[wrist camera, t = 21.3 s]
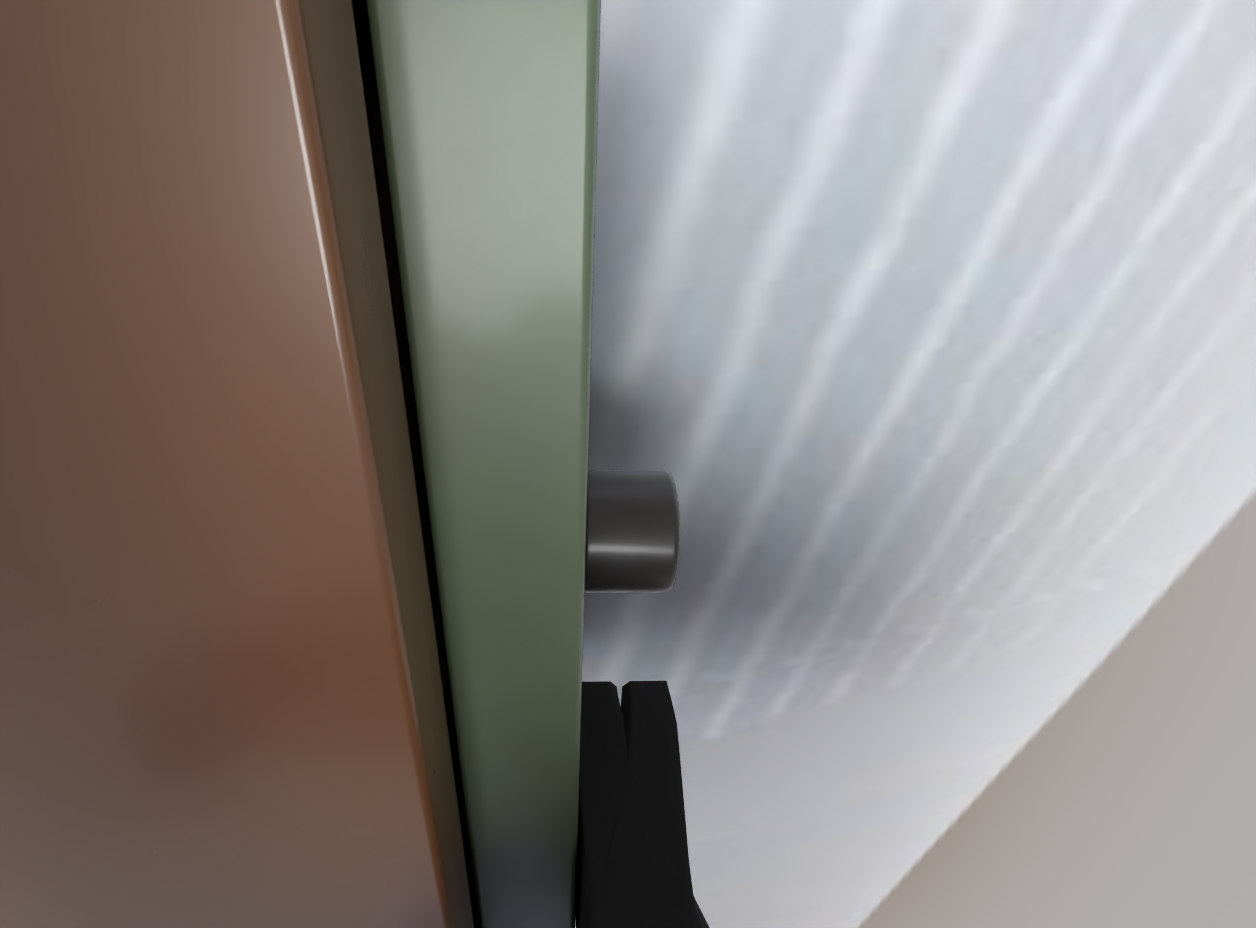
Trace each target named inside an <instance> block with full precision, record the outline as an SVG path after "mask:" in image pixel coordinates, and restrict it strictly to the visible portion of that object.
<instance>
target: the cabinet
mask: <svg viewBox="0 0 1256 928" xmlns="http://www.w3.org/2000/svg"><path fill="white" fill-rule="evenodd" d="M362 78H365V79H369V80H372V81H374V82H376V76H375V68H374V60H373V52H372V44H371V35H370V27H369V19H368V11H367V3H366V0H0V928H480V923H479V915H478V907H477V899H476V891H475V883H474V874H473V866H472V858H471V850H470V842H469V834H468V826H467V817H466V809H465V801H464V793H463V785H462V777H461V769H460V760H459V752H458V744H457V736H456V728H455V720H454V712H453V703H452V695H451V687H450V679H449V673H448V677H447V681H446V685H445V690H444V693H443V689H442V681H441V674H440V666H439V659H438V651H437V644H436V636H435V628H434V621H433V613H432V606H431V598H430V591H429V583H428V575H427V568H426V560H425V553H424V545H423V538H422V530H421V523H420V515H419V507H418V500H417V492H416V485H415V477H414V470H413V462H412V454H411V447H410V439H409V432H408V424H407V417H406V409H405V401H404V394H403V386H402V379H401V371H400V364H399V356H398V349H397V341H396V333H395V326H394V318H393V311H392V303H391V296H390V288H389V280H388V273H387V265H386V258H385V250H384V243H383V235H382V228H381V220H380V212H379V205H378V197H377V190H376V182H375V175H374V167H373V159H372V152H371V144H370V137H369V129H368V122H367V114H366V106H365V99H364V91H363V84H362Z"/></svg>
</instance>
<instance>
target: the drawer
mask: <svg viewBox="0 0 1256 928" xmlns="http://www.w3.org/2000/svg"><path fill="white" fill-rule="evenodd" d="M366 3H367V11H368V19H369V27H370V35H371V44H372V52H373V60H374V68H375V76H376V82H374V81H372V80H369V79H365V78H362V84H363V91H364V99H365V106H366V114H367V122H368V129H369V137H370V144H371V152H372V159H373V167H374V175H375V182H376V190H377V197H378V205H379V212H380V220H381V228H382V235H383V243H384V250H385V258H386V265H387V273H388V280H389V288H390V296H391V303H392V311H393V318H394V326H395V333H396V341H397V349H398V356H399V364H400V371H401V379H402V386H403V394H404V401H405V409H406V417H407V424H408V432H409V439H410V447H411V454H412V462H413V470H414V477H415V485H416V492H417V500H418V507H419V515H420V523H421V530H422V538H423V545H424V553H425V560H426V568H427V575H428V583H429V591H430V598H431V606H432V613H433V621H434V628H435V636H436V644H437V651H438V659H439V666H440V674H441V681H442V689H443V693H444V690H445V685H446V681H447V677H448V673H449V679H450V687H451V695H452V703H453V712H454V720H455V728H456V736H457V744H458V752H459V760H460V769H461V777H462V785H463V793H464V801H465V809H466V817H467V826H468V834H469V842H470V850H471V858H472V866H473V874H474V883H475V891H476V899H477V907H478V915H479V923H480V928H575V910H576V874H577V838H578V802H579V766H580V730H581V694H582V658H583V622H584V592H586V593H666V592H668V591H670V590H671V589H672V588H673V585H674V582H675V580H676V576H677V571H678V564H679V552H680V514H679V503H678V495H677V490H676V486H675V483H674V480H673V477H672V475H671V474H669V473H667V472H665V471H602V470H588V442H589V406H590V370H591V334H592V298H593V263H594V227H595V191H596V155H597V119H598V83H599V47H600V11H601V0H366Z"/></svg>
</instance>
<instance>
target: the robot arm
mask: <svg viewBox="0 0 1256 928" xmlns="http://www.w3.org/2000/svg"><path fill="white" fill-rule="evenodd" d="M575 918H576V928H709V926H708V924H707V922H706V920H705V918H704V916H703V914H702V912H701V910H700V908H699V906H698V904H697V902H696V900H695V898H694V896H693V890H692V882H691V874H690V866H689V857H688V845H687V834H686V822H685V811H684V799H683V787H682V776H681V764H680V753H679V742H678V731H677V722H676V718H675V713H674V709H673V705H672V701H671V697H670V693H669V689H668V685H667V681H629V682H628V683H627V684H625V685H624V686H622V698H621V707H620V703H619V698H618V693H617V687H616V686H615V685H614V684H613V683H611V682H582V694H581V730H580V766H579V802H578V838H577V874H576V910H575Z"/></svg>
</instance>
